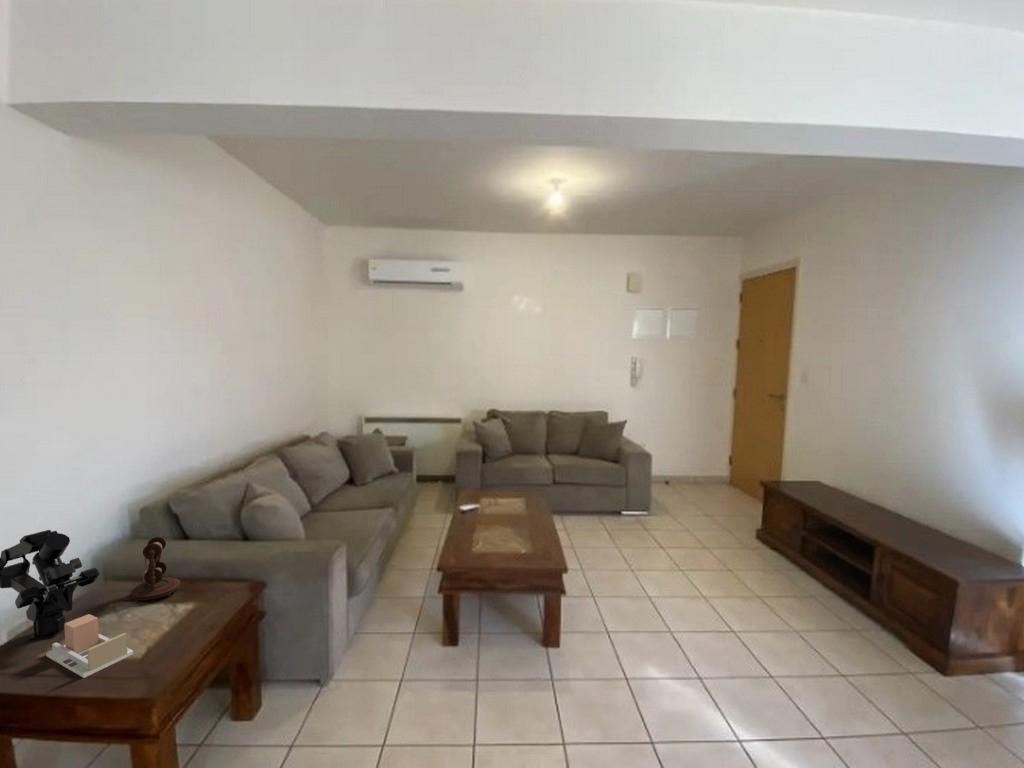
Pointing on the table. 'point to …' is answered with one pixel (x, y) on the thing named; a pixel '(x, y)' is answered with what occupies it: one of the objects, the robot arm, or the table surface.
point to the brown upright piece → (154, 574)
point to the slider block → (81, 633)
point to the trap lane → (92, 655)
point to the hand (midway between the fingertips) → (70, 610)
